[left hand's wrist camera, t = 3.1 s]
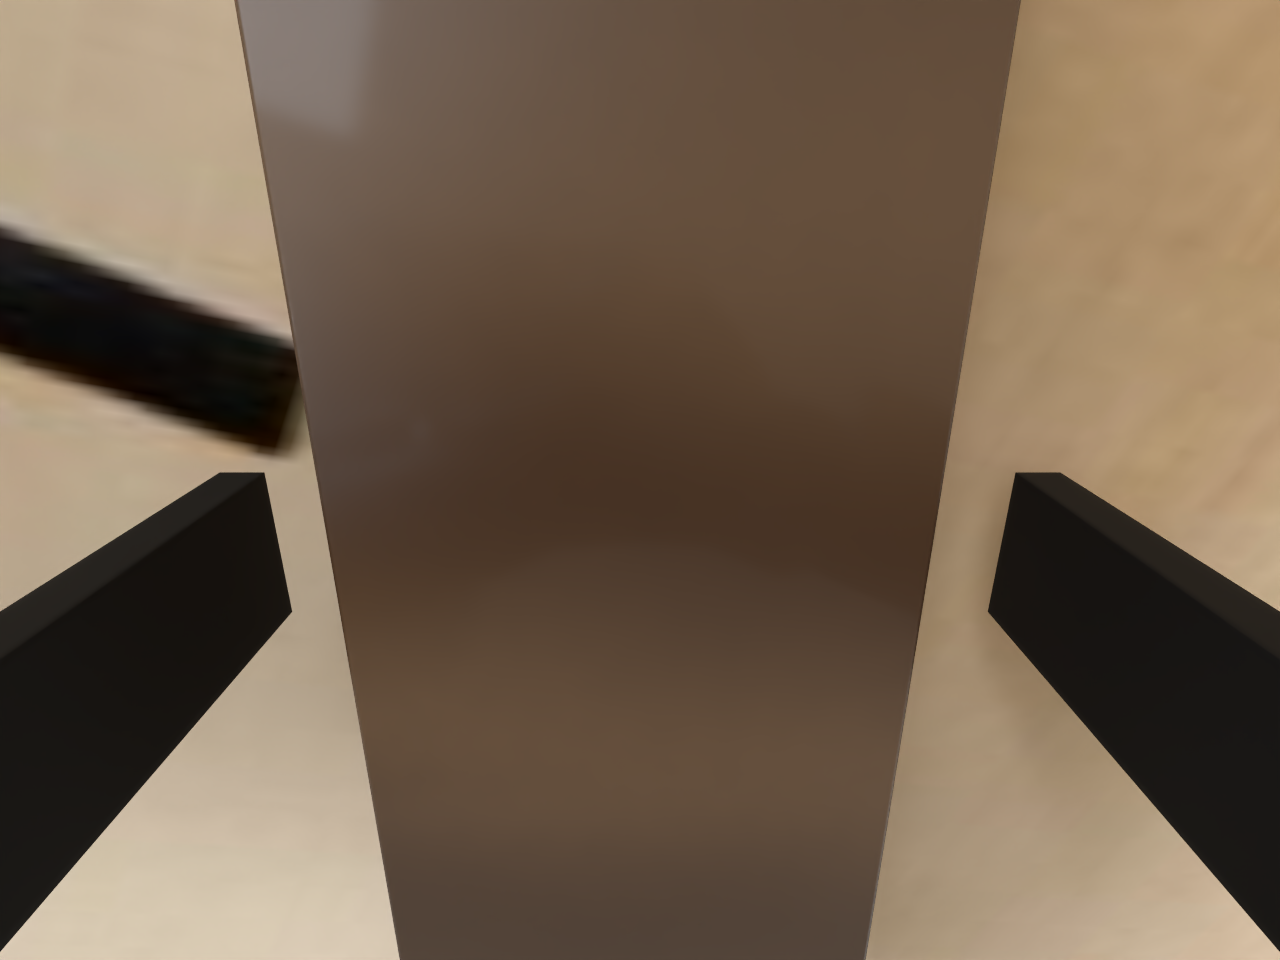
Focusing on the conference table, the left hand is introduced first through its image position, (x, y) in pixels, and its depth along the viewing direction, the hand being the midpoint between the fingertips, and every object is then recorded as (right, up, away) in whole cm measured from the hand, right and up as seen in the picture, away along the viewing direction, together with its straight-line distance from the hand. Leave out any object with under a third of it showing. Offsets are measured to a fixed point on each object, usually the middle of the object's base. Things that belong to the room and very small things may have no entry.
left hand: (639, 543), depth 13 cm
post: (0, +21, -5) cm, 21 cm away
